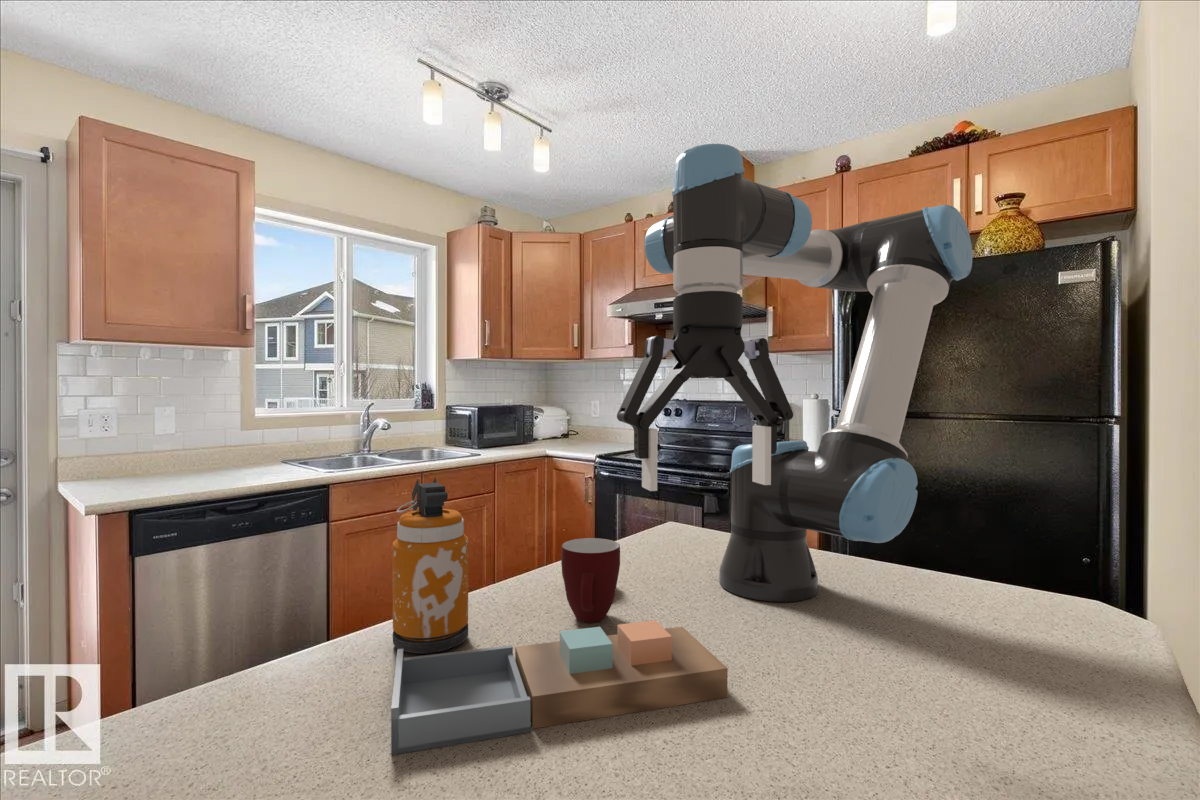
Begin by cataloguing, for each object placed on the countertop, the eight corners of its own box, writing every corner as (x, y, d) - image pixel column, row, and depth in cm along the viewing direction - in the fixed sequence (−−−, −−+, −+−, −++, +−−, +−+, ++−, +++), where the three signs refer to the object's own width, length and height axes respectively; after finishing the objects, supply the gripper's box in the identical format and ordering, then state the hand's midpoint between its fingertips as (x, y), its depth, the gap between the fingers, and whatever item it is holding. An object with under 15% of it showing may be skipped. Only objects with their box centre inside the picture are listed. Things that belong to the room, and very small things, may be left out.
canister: (399, 665, 67) (398, 489, 67) (385, 629, 77) (385, 476, 77) (476, 649, 71) (476, 483, 71) (454, 617, 81) (454, 472, 81)
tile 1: (600, 649, 64) (600, 626, 64) (612, 668, 60) (612, 643, 60) (559, 654, 63) (559, 631, 63) (569, 674, 59) (569, 649, 59)
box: (511, 671, 65) (511, 636, 65) (530, 732, 54) (530, 688, 54) (397, 687, 62) (397, 649, 62) (391, 754, 51) (391, 708, 50)
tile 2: (655, 642, 66) (655, 620, 66) (671, 660, 62) (671, 636, 62) (617, 647, 65) (617, 624, 65) (631, 665, 61) (631, 641, 61)
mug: (624, 636, 75) (625, 558, 75) (560, 638, 74) (561, 559, 74) (617, 606, 86) (617, 537, 85) (561, 607, 85) (561, 538, 85)
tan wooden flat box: (682, 651, 71) (682, 626, 71) (727, 697, 60) (727, 668, 60) (515, 673, 65) (515, 646, 65) (532, 728, 55) (532, 696, 54)
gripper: (786, 302, 72) (785, 476, 73) (589, 294, 65) (589, 485, 66) (826, 293, 65) (825, 486, 65) (608, 282, 58) (609, 497, 59)
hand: (707, 486), depth 66 cm, fingers open, 13 cm apart
